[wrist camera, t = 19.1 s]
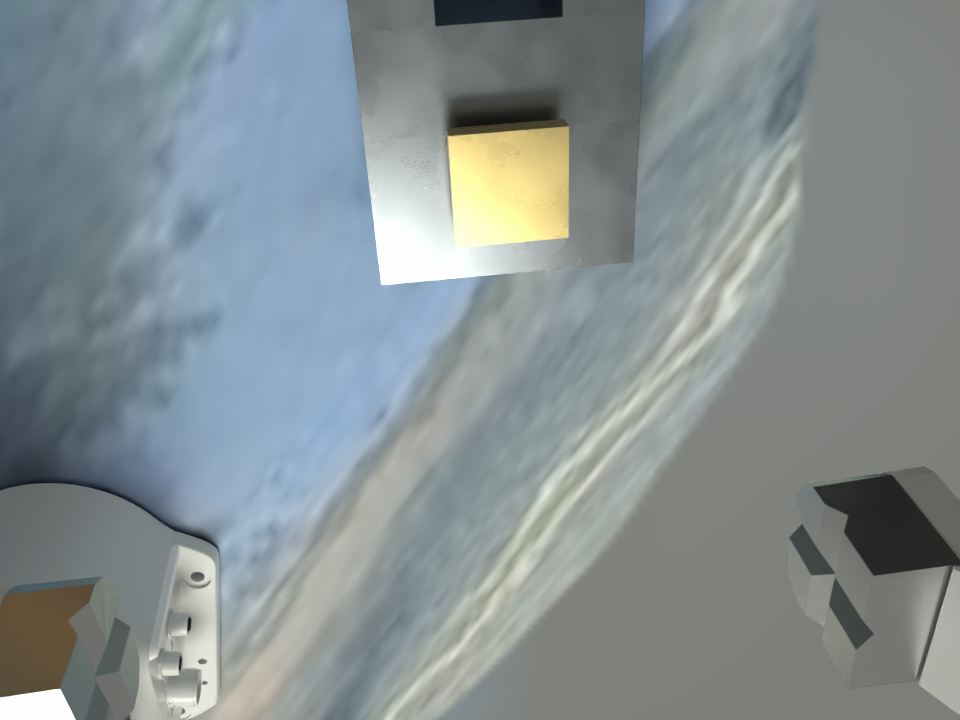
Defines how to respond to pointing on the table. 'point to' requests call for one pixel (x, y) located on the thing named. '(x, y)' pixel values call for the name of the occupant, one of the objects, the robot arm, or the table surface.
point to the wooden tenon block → (509, 182)
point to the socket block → (497, 121)
